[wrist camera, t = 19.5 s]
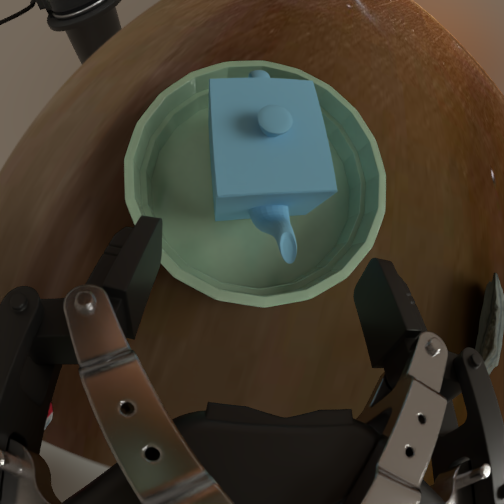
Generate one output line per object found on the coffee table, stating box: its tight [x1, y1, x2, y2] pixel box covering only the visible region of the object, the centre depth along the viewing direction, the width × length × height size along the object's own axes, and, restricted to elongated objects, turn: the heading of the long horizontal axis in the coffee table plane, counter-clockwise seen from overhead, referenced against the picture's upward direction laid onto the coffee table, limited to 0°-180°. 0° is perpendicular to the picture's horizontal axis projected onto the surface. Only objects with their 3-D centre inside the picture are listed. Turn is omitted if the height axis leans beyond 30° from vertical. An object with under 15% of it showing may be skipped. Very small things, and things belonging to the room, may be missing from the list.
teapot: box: [208, 70, 338, 264], centre depth 17 cm, size 12×6×8 cm, turn 6°
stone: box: [475, 273, 504, 374], centre depth 21 cm, size 11×4×10 cm
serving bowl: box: [124, 61, 386, 308], centre depth 19 cm, size 16×16×4 cm
